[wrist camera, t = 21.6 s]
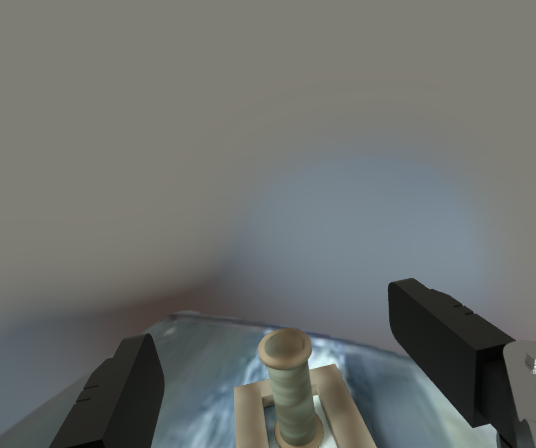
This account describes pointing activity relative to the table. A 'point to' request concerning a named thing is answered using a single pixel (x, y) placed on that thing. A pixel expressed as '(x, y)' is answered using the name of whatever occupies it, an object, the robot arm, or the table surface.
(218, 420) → the table surface
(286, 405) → the bobbin
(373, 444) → the tan u-shaped bracket
